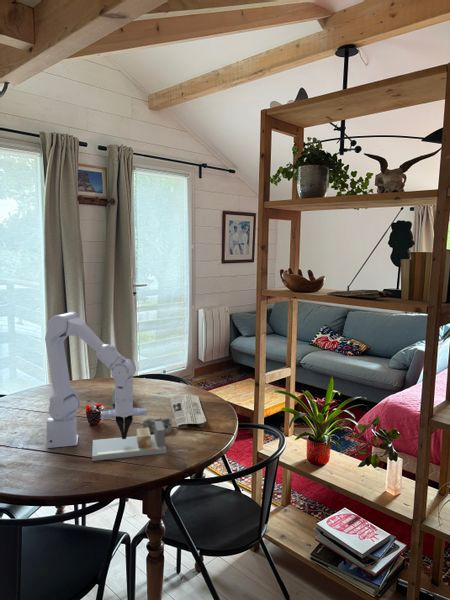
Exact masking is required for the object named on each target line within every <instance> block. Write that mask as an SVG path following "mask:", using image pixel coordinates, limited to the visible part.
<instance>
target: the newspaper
mask: <svg viewBox="0 0 450 600" xmlns="http://www.w3.org/2000/svg"><path fill="white" fill-rule="evenodd" d="M169 400H170V404H171V410H172V413H173V418H174V421H175V425H176V426H175V427H176V429H177V430H179V429H185V428H186V429H187V428H189V426H188V427H187V425H188V424H189V425H190V424H192V425H194V424H196V425H198V427H199V428H203V427H204V426H205V422H207V419H206V416H205V414H204V411H203V408H202V405H201V402H200V398H199V395H194V394H191V393H190V394H187V393H186V394H185V393H184V394H174V395H171V396H169Z"/></svg>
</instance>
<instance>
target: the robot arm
mask: <svg viewBox="0 0 450 600" xmlns="http://www.w3.org/2000/svg"><path fill="white" fill-rule="evenodd" d="M46 327H47V329H46V333H45V337H44V340H45V347H46V353H47V359H48V365H49V371H50V376H51V383H52V388H53V391H52V393H51V395H50V397H49V407H48V414H49V416H50V417H48V418H47V420H46V449H53V448H65V447H72V446H73V447H75V446H78V442H79V434H77V413H78V409H79V408H80V405H81V401H80V398H79V396H78V395H77V391H76V389H75V388H73V387H72V386H71V380H70V374H69V367H68V362H67V355H66V350H65V345H64V344H65V343H64V342H65V340H66V339H67V338H68V337H69V336H75V337H78V338H80V339H81V340H82V341H83V342H84V343H86V344H87V345H88V346H89V347H90V348H92V350H94V351H95V352H96V357H97V359H98V360H99V361H100V362H101V363H102V364H103V365H104V366H105V367H107V368H108V370H109V371H111V373H110V374H111V377H112V379H113V380H114V386H115V404H114V409H107V410H105V411H104V410H101V411H100V420H105V419H113V418H115V422H116V424H117V427H118V428H119V432H120V434H121V437H122V439H126V437H128V432H129V429H130V426H131V424H132V423H133V417H136V416H137V417H138V416H143V417H146V416H148V415H147V414H148V413H147V411H148V409H147V408H145V407H143V408H141V407H140V408H138V407H134V374H135V373H136V371H137V367H136V364H135V362H134V361H133V360H132V359H130V358H126V356H123V355H122V354H121V353H120V352H119V351H118V350H116V346H115V345H111V344H109V343H107V344H106V343H104V342H103V341H102V340H101V338H99V337H98V336H97V334H95V332H93V331H94V330H92V329H91V328H90V327H89V326H88V325H87V324H86V321H85V319H84V318H82V316H80V315H79V314H78V313H77V312H75V311H68V312H65V313H62V314H56V315H53V316H52V317H51V318H49V319H48V321H47V322H46Z"/></svg>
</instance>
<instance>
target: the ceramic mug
mask: <svg viewBox="0 0 450 600" xmlns="http://www.w3.org/2000/svg"><path fill="white" fill-rule="evenodd" d="M111 404H112V405H115V385H113V387H112V391H111Z"/></svg>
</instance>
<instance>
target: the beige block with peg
mask: <svg viewBox="0 0 450 600" xmlns="http://www.w3.org/2000/svg"><path fill="white" fill-rule="evenodd" d="M151 435H152V434H151V433H150V431H149V428H143V427H141V428H140V427H138V428H136V436H137V443H138V447H144V448H146V447H148V446H151Z"/></svg>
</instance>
